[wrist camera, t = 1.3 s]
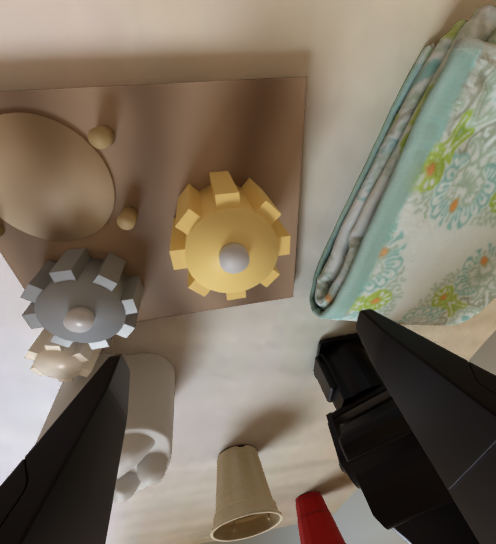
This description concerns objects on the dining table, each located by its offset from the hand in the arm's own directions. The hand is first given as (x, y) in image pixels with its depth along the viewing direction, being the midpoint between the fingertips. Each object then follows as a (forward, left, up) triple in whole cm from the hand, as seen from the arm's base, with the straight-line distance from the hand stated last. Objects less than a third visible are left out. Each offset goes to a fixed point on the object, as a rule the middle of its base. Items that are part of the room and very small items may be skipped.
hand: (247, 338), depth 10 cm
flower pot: (+1, +39, -12) cm, 41 cm away
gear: (+10, +4, -11) cm, 15 cm away
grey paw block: (+12, +19, -12) cm, 26 cm away
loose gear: (0, 0, -11) cm, 11 cm away
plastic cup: (-13, +67, -12) cm, 69 cm away
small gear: (+13, +9, -11) cm, 20 cm away
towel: (-19, +2, -13) cm, 23 cm away
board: (+4, 0, -12) cm, 13 cm away
